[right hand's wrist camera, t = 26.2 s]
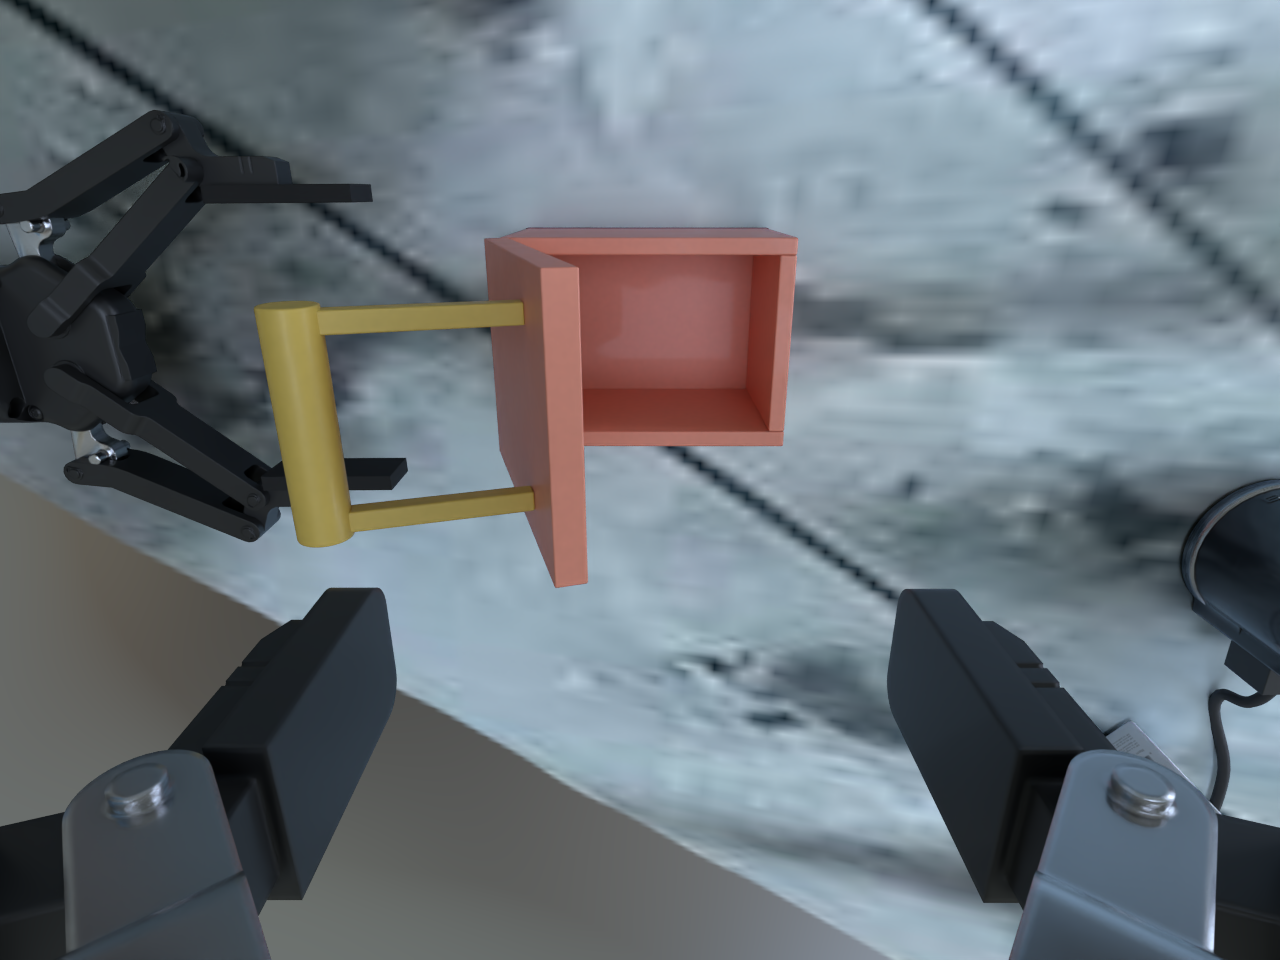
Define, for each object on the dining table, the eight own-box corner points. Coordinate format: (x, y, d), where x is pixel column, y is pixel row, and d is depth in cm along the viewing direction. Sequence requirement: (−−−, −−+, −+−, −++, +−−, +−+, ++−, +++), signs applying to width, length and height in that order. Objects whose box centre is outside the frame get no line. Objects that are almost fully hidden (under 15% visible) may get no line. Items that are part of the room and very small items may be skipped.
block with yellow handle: (579, 266, 19) (218, 276, 17) (588, 583, 23) (289, 628, 20) (509, 237, 31) (291, 241, 29) (521, 449, 35) (328, 467, 32)
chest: (765, 227, 40) (798, 237, 32) (755, 397, 43) (783, 446, 35) (528, 227, 40) (498, 236, 32) (537, 397, 43) (512, 446, 35)
